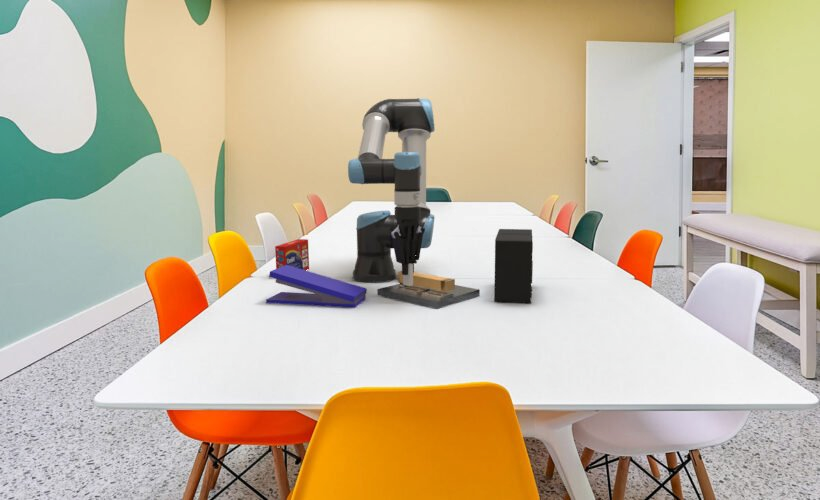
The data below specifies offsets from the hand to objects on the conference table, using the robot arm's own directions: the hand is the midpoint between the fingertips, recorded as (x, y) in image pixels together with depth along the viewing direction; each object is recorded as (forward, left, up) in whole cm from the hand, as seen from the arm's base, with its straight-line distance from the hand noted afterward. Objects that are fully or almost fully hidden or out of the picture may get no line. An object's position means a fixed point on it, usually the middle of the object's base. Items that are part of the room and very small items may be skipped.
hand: (408, 285), depth 174 cm
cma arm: (+1, +6, -1) cm, 6 cm away
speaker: (+19, +27, -5) cm, 34 cm away
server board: (+2, +7, -4) cm, 9 cm away
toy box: (-57, 0, -5) cm, 58 cm away
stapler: (-19, -19, -5) cm, 27 cm away
